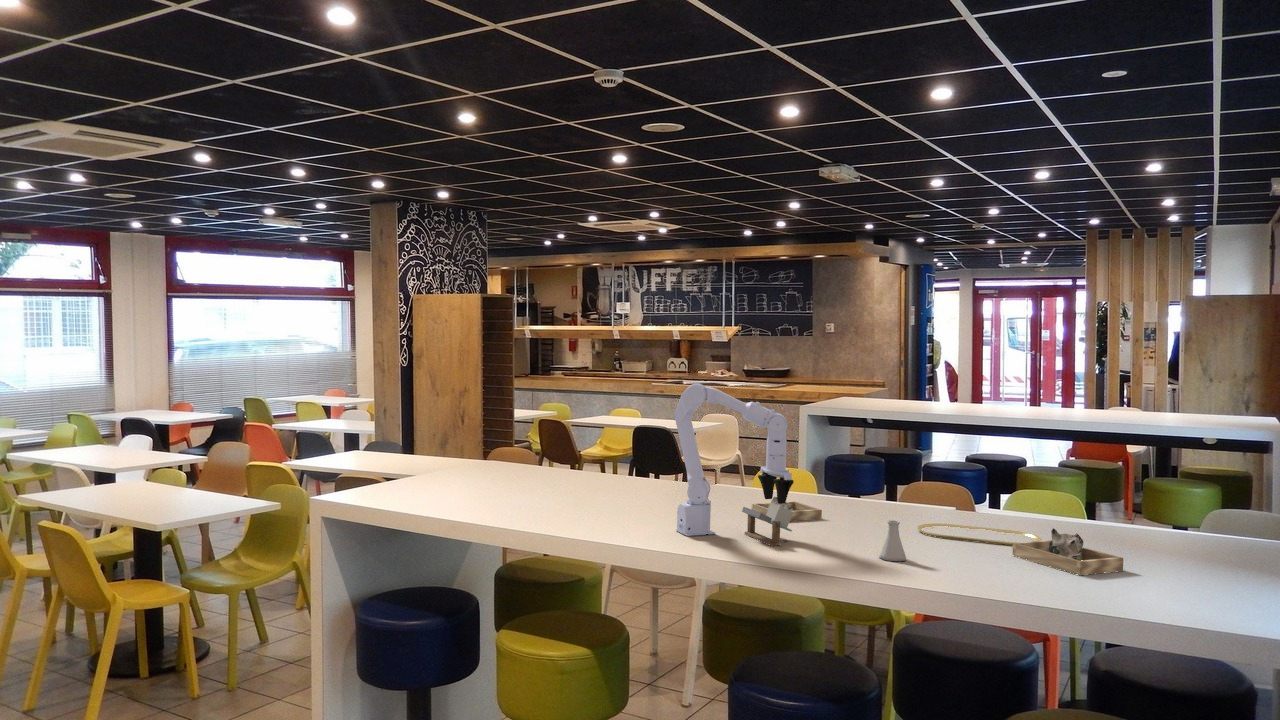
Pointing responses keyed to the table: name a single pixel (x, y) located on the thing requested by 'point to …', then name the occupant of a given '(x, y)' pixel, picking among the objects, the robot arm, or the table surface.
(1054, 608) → the table surface
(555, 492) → the table surface
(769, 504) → the rock sample
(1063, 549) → the grey lumpy piece
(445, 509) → the table surface
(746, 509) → the trapdoor
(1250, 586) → the table surface
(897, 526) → the flask
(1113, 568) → the shallow wooden tray
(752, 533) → the frame
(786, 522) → the light grey cube
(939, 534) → the serving platter
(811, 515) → the square wooden tray
